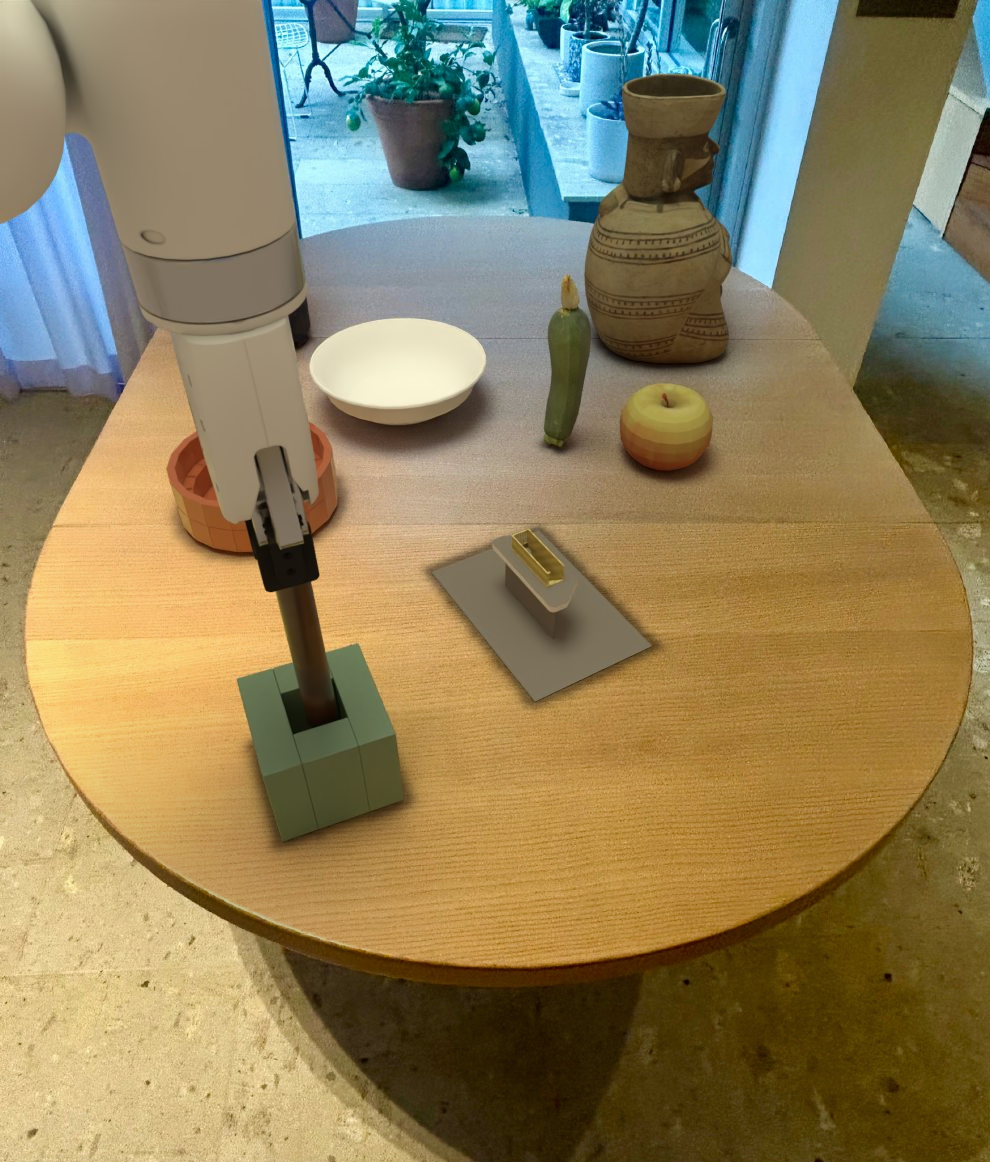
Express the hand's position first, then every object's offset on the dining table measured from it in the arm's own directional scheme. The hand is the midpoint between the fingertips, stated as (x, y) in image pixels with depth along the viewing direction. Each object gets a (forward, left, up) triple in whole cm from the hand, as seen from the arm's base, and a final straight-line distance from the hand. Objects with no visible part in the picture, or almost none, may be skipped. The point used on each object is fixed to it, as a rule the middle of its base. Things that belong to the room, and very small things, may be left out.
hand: (286, 565), depth 52 cm
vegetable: (+35, +32, -21) cm, 52 cm away
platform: (+22, +10, -21) cm, 32 cm away
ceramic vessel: (+56, +49, -21) cm, 77 cm away
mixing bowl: (+2, +34, -21) cm, 40 cm away
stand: (0, 0, -21) cm, 21 cm away
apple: (+44, +26, -21) cm, 55 cm away
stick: (0, 0, -15) cm, 15 cm away
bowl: (+21, +46, -21) cm, 55 cm away
